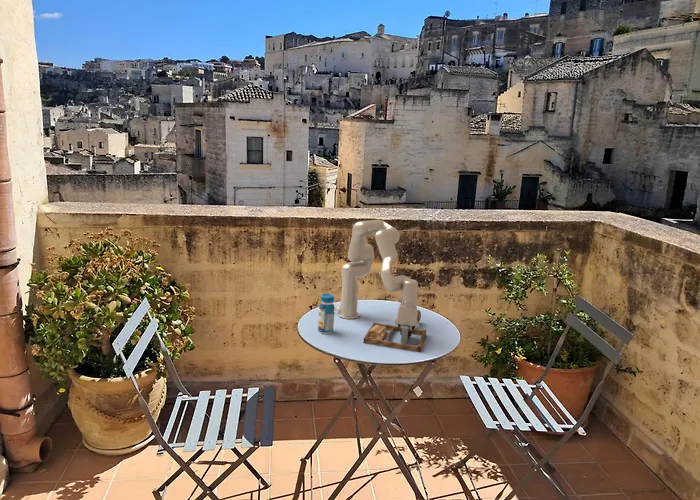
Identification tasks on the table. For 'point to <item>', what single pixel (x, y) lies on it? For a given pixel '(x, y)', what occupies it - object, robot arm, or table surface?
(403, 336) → the grey rectangular block
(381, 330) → the offcut stack
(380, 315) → the table surface
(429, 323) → the table surface
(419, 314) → the tin
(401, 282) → the robot arm
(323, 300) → the beverage bottle
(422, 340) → the rack
